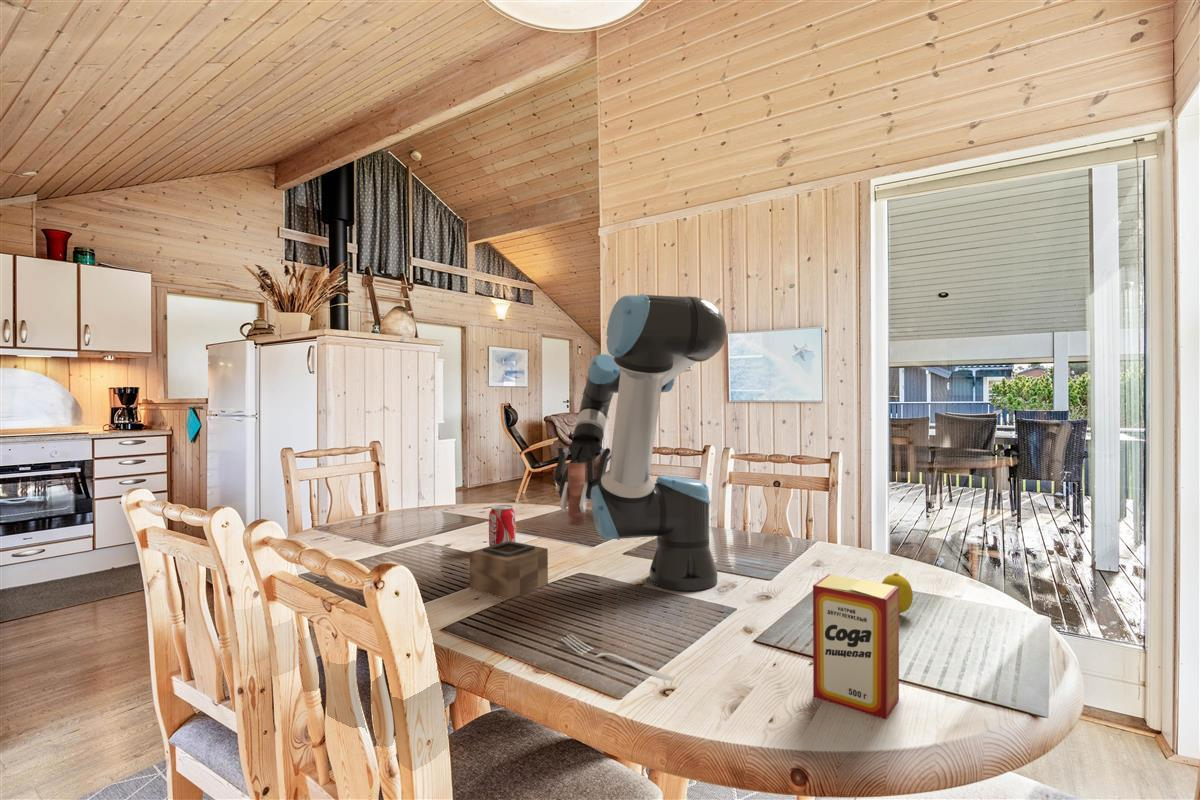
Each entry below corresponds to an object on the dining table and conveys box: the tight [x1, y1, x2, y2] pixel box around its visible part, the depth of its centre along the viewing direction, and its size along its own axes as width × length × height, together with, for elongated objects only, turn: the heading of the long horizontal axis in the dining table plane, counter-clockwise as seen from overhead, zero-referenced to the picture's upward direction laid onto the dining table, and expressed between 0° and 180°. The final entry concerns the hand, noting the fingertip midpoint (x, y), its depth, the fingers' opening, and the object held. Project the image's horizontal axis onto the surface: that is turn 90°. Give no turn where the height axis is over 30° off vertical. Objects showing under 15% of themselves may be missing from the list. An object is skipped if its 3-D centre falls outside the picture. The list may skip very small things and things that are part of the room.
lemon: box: [881, 572, 914, 615], centre depth 115 cm, size 6×6×8 cm
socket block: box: [469, 541, 549, 600], centre depth 133 cm, size 12×12×9 cm
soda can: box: [488, 504, 516, 547], centre depth 163 cm, size 7×7×12 cm
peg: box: [567, 462, 587, 526], centre depth 142 cm, size 4×4×14 cm
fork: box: [560, 633, 676, 682], centre depth 95 cm, size 3×24×2 cm, turn 52°
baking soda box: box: [812, 573, 900, 720], centre depth 84 cm, size 10×6×16 cm
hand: (572, 508), depth 138 cm, fingers closed on peg, 4 cm apart
